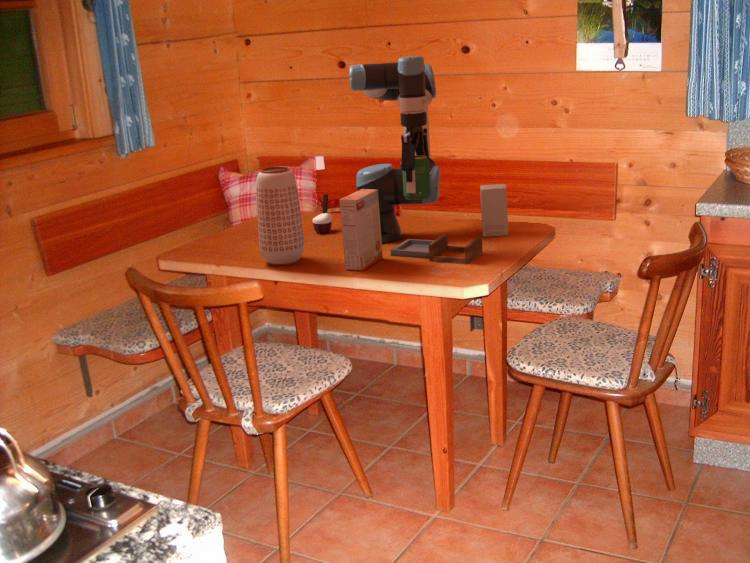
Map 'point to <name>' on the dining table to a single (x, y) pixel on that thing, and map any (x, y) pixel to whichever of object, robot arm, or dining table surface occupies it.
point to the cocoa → (323, 218)
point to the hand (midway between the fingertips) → (417, 189)
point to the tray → (412, 248)
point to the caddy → (454, 250)
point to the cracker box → (361, 229)
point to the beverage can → (419, 179)
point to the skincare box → (494, 210)
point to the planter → (279, 216)
